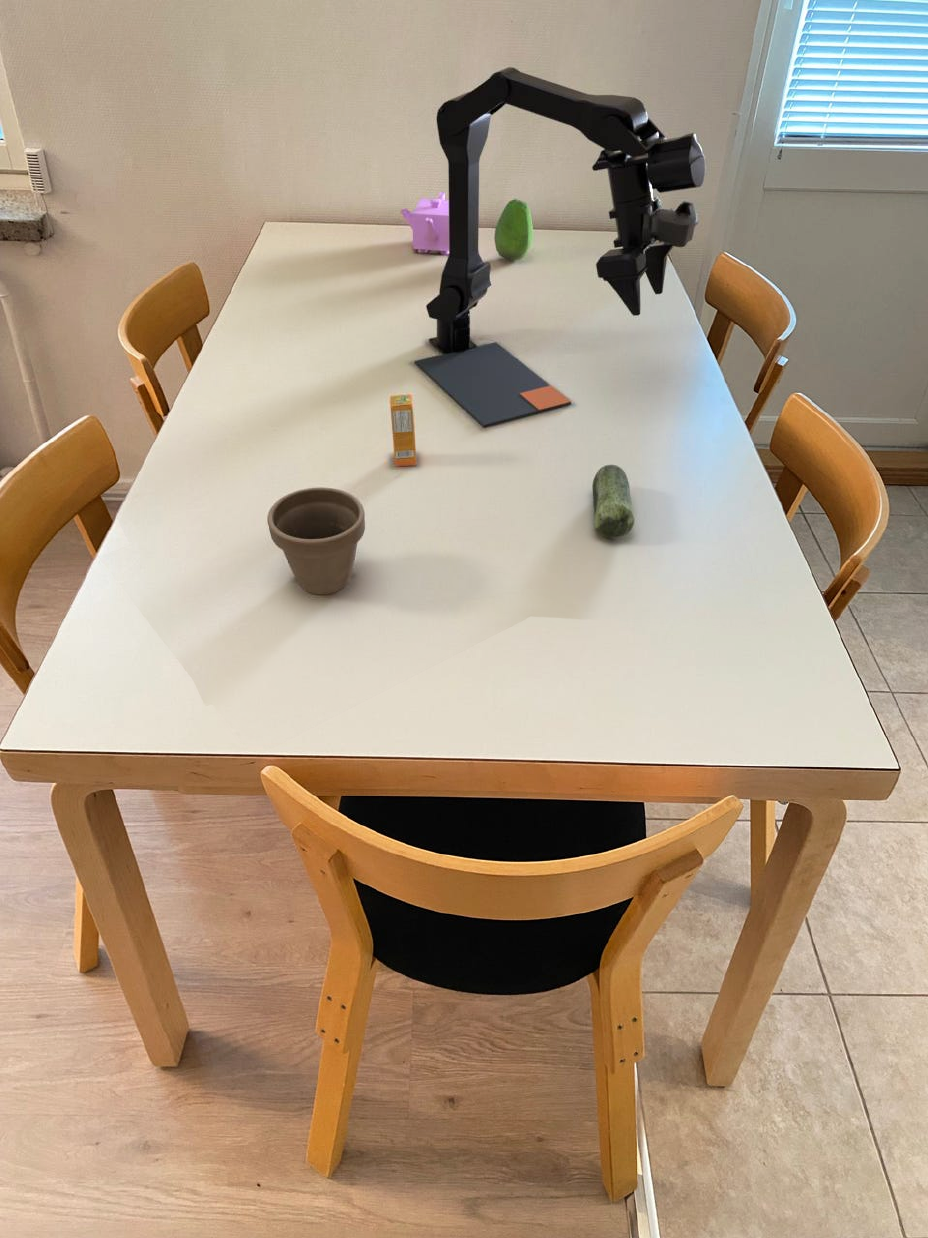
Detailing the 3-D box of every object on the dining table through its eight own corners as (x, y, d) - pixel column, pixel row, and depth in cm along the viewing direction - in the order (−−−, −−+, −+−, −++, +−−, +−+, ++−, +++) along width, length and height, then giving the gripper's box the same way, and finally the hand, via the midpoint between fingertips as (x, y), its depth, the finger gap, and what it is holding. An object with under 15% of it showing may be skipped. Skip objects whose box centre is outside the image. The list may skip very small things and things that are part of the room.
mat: (414, 363, 164) (414, 360, 164) (495, 344, 170) (496, 341, 170) (483, 427, 148) (483, 424, 148) (570, 404, 154) (571, 401, 154)
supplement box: (392, 455, 142) (389, 393, 136) (415, 454, 142) (414, 392, 136) (392, 467, 140) (390, 405, 133) (416, 466, 140) (415, 404, 133)
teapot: (410, 230, 212) (409, 183, 205) (469, 234, 210) (470, 187, 204) (393, 260, 198) (391, 211, 192) (456, 265, 197) (457, 216, 190)
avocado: (532, 266, 197) (536, 205, 189) (493, 265, 197) (495, 205, 189) (530, 251, 203) (534, 192, 195) (493, 251, 203) (495, 191, 195)
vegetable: (632, 546, 126) (637, 514, 123) (592, 544, 126) (597, 512, 123) (625, 487, 137) (630, 456, 133) (589, 485, 137) (592, 454, 134)
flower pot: (259, 572, 121) (249, 505, 114) (337, 540, 126) (331, 474, 120) (306, 621, 114) (298, 553, 107) (386, 585, 119) (383, 518, 113)
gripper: (661, 208, 128) (677, 322, 136) (707, 171, 141) (719, 278, 149) (586, 218, 134) (605, 328, 143) (636, 182, 147) (651, 285, 155)
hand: (647, 304), depth 147 cm, fingers open, 9 cm apart
